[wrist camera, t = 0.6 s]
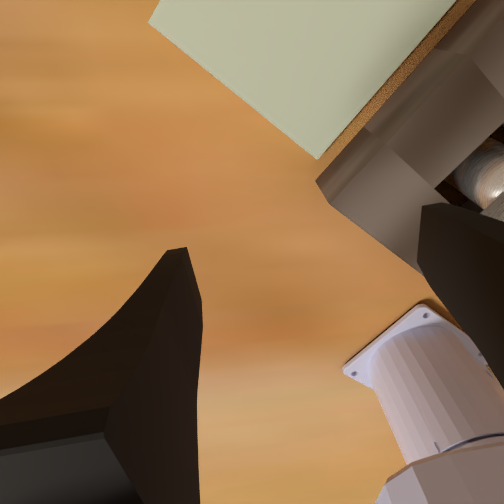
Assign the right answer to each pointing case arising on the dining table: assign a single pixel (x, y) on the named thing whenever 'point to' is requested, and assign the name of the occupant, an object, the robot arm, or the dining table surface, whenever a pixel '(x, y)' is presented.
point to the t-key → (482, 178)
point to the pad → (300, 54)
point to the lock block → (423, 133)
